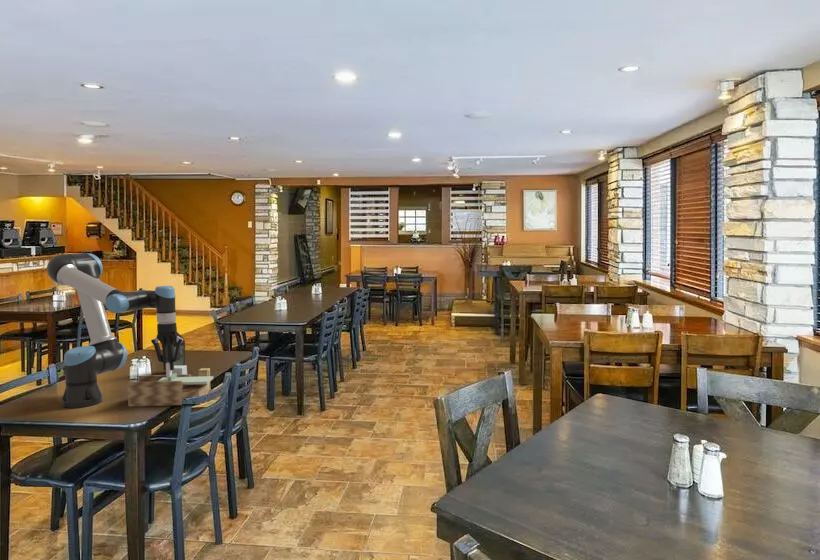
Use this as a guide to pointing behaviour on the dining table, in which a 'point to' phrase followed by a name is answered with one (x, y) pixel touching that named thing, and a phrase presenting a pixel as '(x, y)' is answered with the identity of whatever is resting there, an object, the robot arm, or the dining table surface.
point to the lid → (188, 379)
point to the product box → (180, 370)
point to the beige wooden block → (205, 373)
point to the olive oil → (181, 355)
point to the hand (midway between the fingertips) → (169, 377)
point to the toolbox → (162, 391)
